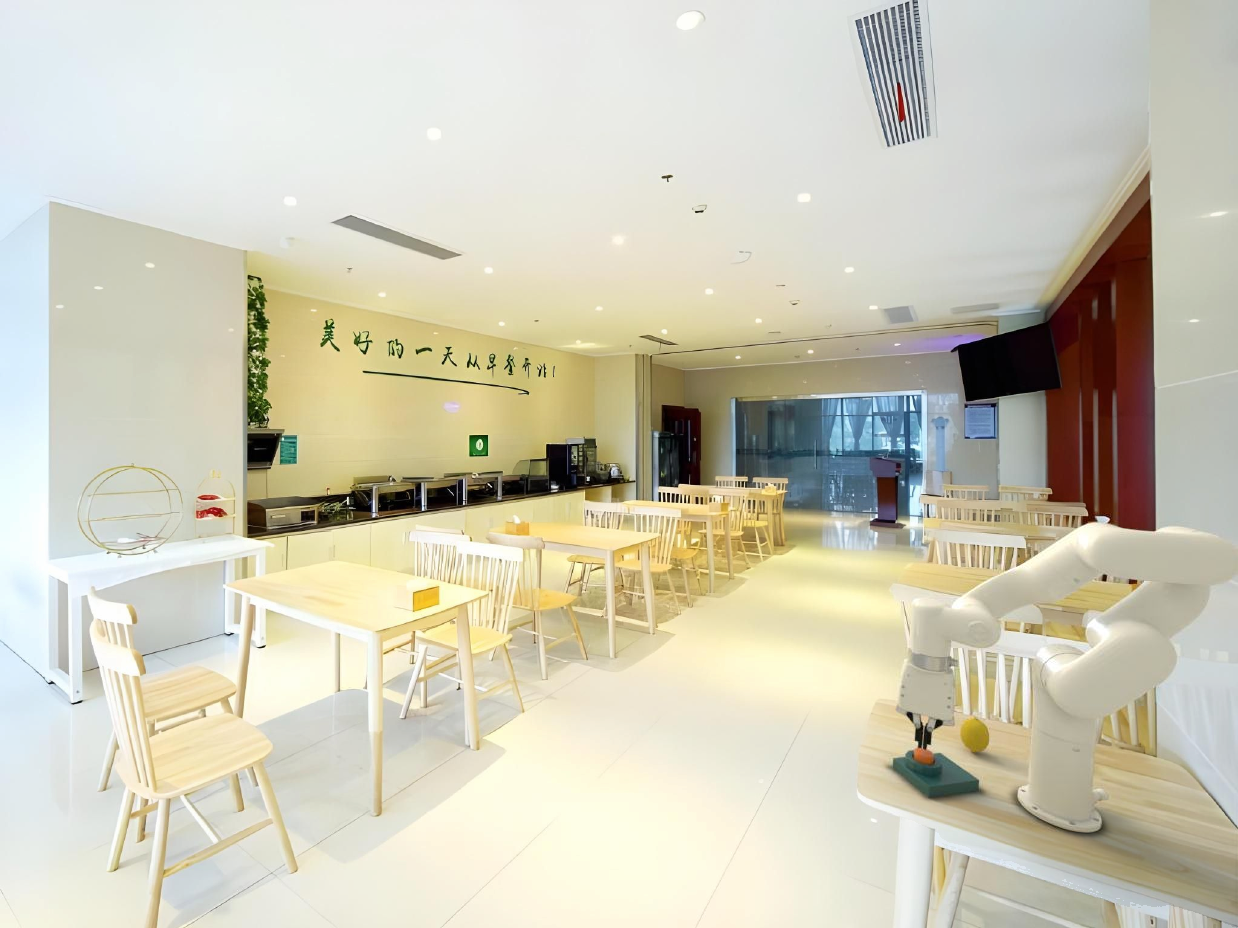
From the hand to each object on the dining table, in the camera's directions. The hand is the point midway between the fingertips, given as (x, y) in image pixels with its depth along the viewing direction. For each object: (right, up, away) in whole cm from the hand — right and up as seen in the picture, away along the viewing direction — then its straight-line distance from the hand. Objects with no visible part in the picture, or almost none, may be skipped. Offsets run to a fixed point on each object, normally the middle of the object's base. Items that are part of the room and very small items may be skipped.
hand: (922, 745), depth 116 cm
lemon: (+17, -7, +10) cm, 21 cm away
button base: (+2, -7, 0) cm, 7 cm away
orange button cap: (0, -3, 0) cm, 3 cm away
